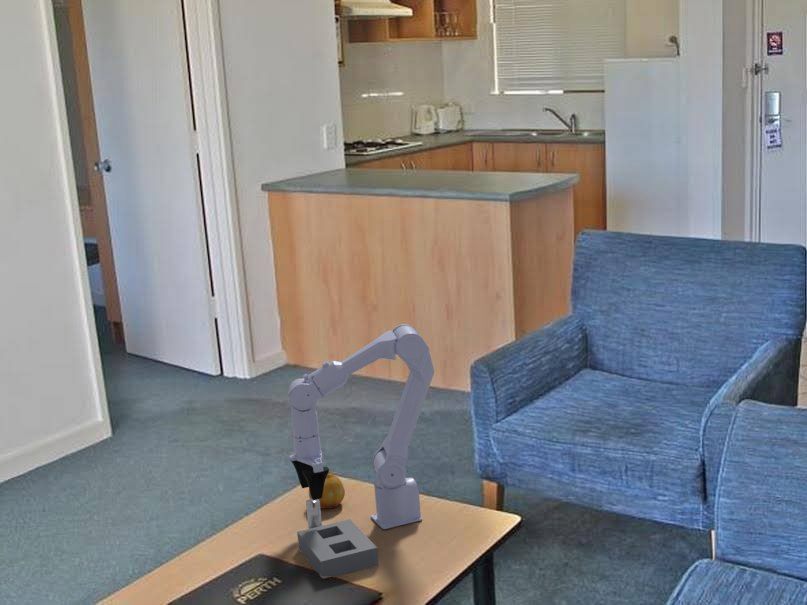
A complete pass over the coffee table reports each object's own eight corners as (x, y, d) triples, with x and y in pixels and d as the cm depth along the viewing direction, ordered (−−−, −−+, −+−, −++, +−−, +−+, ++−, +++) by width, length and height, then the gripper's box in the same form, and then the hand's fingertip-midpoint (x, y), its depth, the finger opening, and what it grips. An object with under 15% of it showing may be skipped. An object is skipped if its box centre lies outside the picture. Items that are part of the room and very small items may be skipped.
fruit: (336, 484, 251) (321, 462, 247) (356, 495, 245) (341, 473, 241) (312, 509, 248) (297, 488, 244) (333, 521, 242) (317, 500, 238)
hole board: (351, 536, 227) (350, 519, 227) (378, 565, 213) (376, 547, 212) (298, 549, 223) (297, 531, 222) (322, 580, 209) (320, 561, 208)
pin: (319, 526, 234) (317, 497, 232) (324, 531, 231) (321, 502, 229) (307, 529, 232) (304, 500, 231) (311, 534, 230) (308, 505, 228)
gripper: (279, 428, 232) (284, 485, 235) (298, 447, 219) (304, 508, 222) (309, 422, 234) (314, 479, 237) (330, 441, 221) (335, 501, 224)
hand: (311, 492), depth 230 cm, fingers open, 7 cm apart
